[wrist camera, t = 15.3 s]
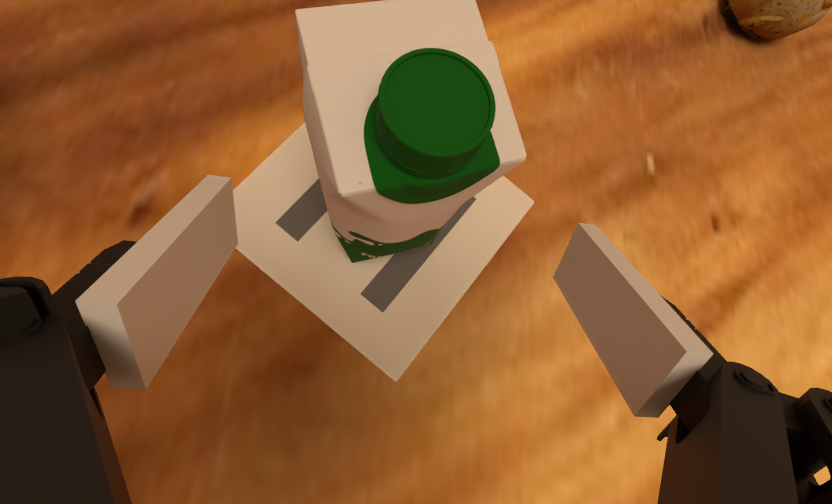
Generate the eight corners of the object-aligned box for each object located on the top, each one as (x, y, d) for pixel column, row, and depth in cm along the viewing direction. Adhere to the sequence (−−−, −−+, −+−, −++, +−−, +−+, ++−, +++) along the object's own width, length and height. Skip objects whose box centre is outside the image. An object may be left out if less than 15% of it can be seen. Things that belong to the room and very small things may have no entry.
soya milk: (343, 276, 31) (320, 193, 11) (318, 173, 32) (260, -61, 13) (444, 252, 32) (577, 143, 13) (417, 155, 34) (500, -76, 14)
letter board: (204, 222, 30) (201, 220, 30) (367, 66, 35) (367, 62, 35) (395, 381, 30) (396, 382, 30) (531, 203, 35) (534, 201, 35)
